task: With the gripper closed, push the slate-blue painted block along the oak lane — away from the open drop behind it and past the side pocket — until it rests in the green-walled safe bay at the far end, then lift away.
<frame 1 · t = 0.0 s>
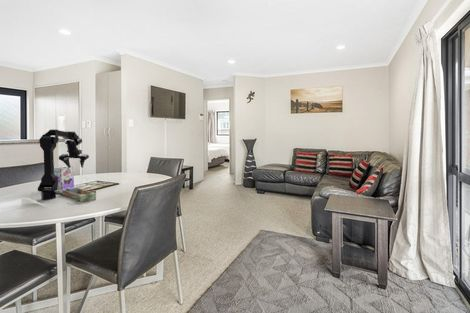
hand: (76, 167, 191), 16 cm above the table, tool pointing down, fingers open, 9 cm apart
candy box: (64, 188, 190), on the table, touching gripper
block: (72, 193, 170), point 1 cm above the table, touching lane
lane: (77, 197, 166), on the table
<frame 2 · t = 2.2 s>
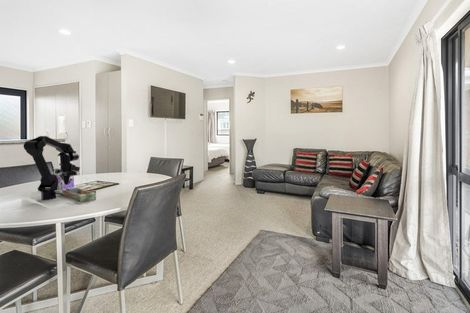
hand: (66, 184, 174), 7 cm above the table, tool pointing down, fingers closed
candy box: (64, 189, 190), on the table
everything else where it was.
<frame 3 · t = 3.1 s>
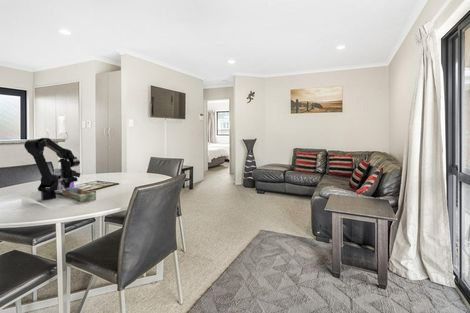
hand: (67, 190, 174), 2 cm above the table, tool pointing down, fingers closed
nothing on the table moved.
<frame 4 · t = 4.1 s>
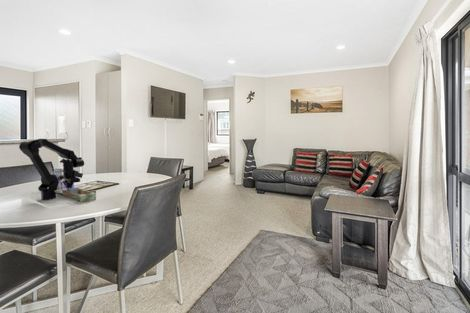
hand: (69, 191, 172), 2 cm above the table, tool pointing down, fingers closed
block: (72, 194, 170), point 1 cm above the table, touching gripper
everything else where it was.
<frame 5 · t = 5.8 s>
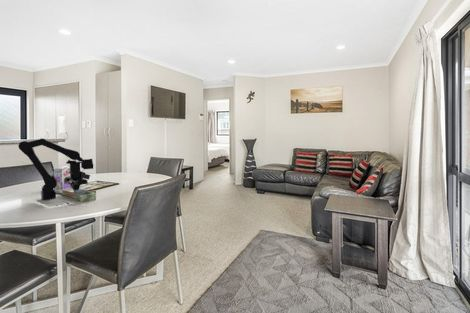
hand: (76, 193, 167), 2 cm above the table, tool pointing down, fingers closed
block: (79, 196, 165), point 1 cm above the table, touching gripper, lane
everything else where it was.
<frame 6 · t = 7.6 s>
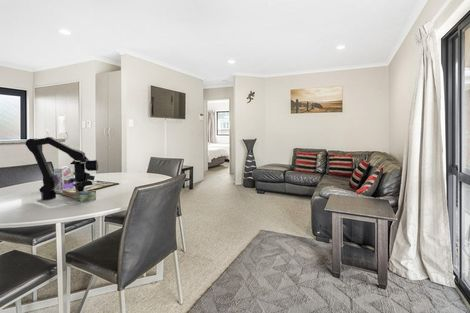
hand: (80, 194, 163), 2 cm above the table, tool pointing down, fingers closed
block: (84, 197, 161), point 1 cm above the table, touching gripper, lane
everything else where it was.
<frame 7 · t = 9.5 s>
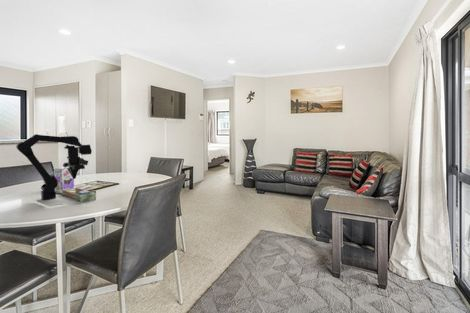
hand: (74, 178, 168), 12 cm above the table, tool pointing down, fingers closed
block: (84, 197, 161), point 1 cm above the table, touching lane
everything else where it was.
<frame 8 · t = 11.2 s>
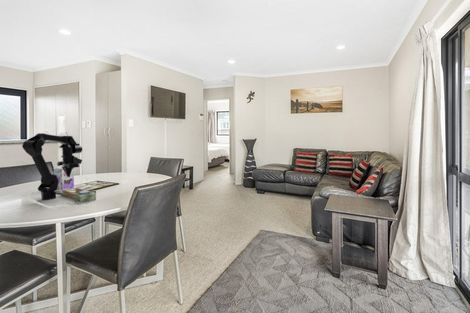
hand: (68, 176, 173), 12 cm above the table, tool pointing down, fingers closed
nothing on the table moved.
at the end: block inside the target area on the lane (0.3 cm from its centre), point 1.2 cm above the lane's base; block tilted 0° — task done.
